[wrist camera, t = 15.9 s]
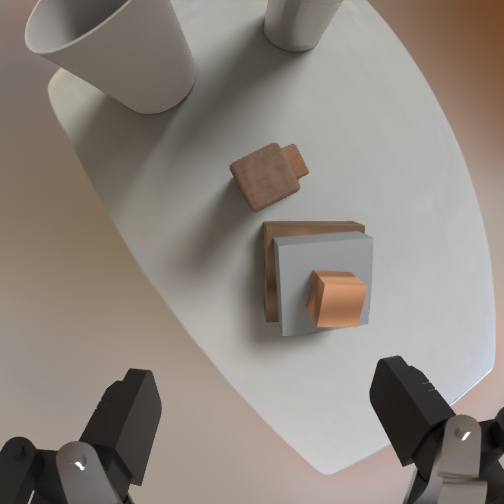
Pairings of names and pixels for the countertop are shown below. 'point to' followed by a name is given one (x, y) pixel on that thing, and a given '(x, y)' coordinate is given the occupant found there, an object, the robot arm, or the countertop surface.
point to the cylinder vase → (117, 48)
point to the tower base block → (286, 230)
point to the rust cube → (336, 298)
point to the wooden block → (269, 174)
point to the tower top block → (317, 258)
